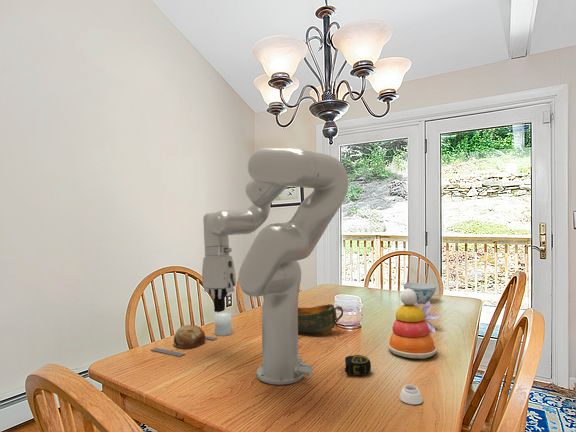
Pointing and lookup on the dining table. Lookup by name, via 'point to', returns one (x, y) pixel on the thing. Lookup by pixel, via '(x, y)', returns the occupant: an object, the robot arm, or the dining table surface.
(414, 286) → the chinaware
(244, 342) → the dining table surface
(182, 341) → the bread roll
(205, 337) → the bay strip right
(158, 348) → the strip
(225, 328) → the cup
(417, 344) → the stacking toy
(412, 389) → the white jar
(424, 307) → the water lily
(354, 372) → the tape measure
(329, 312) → the creamer
